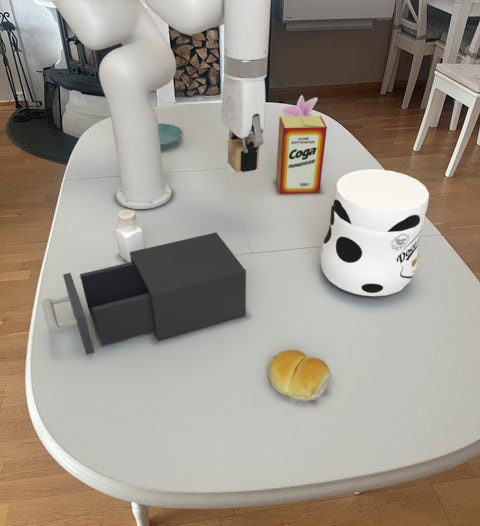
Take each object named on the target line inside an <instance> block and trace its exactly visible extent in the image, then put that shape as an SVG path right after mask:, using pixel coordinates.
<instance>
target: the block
mask: <svg viewBox="0 0 480 526" xmlns="http://www.w3.org/2000/svg"><path fill="white" fill-rule="evenodd" d="M252 140H253V138H250V139H247V142H248V144H249V142H251V141H252ZM241 151H243V143H242V139H241V138H240V139H234V140H230V139H229V140H227V164H228V165H229V166H230V167H231V168H232V169H233V170H234V171H235V172H236V173H241V172H242V171H241ZM259 162H260V149H259V150H258V151H257V168H256V170H257V169H259ZM242 173H243V172H242Z"/></svg>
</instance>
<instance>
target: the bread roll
mask: <svg viewBox="0 0 480 526" xmlns="http://www.w3.org/2000/svg"><path fill="white" fill-rule="evenodd" d="M268 377H269V382H270V384H271V386H272V387H273V389H274V390H275V391H277V392H278V393H279V394H281V395H283V396H286V397H287V396H288V397H289V398H291V399H292V400H296V401H301V402H309V401H314V400H316V399H319V397H321V395H322V394H323V393H324V392H325V390H326V389H327V387H328V385H329V384H330V382H331V378H332V374H331V373H330V369H329V367H328V364H326V363H325V362H324V361H323V360H322V359H320V358H318V357H317V358H316V357H307V355H306V354H305V353H304V352H302V351H301V350H298V349H288V350H284V351H281V352H280V353H278V354H277V355H275V356H274V357H273V358H272V360H271V362H270V363H269V367H268Z"/></svg>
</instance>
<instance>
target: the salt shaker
mask: <svg viewBox="0 0 480 526" xmlns="http://www.w3.org/2000/svg"><path fill="white" fill-rule="evenodd" d="M136 216H137V215H136V212H135V210H133V209H132V210H131V209H123V210H121V211H118V214H117V220H118V224H119V226H118V227H117V228H116V229H115V235H116V242H117V247H118V252H119V256H120V257H121V258H122V259H123V260H125V261H127V263H129V262H131V258H130V252H132V251H137V250H141V249H146V246H145V245H146V244H145V239H144V237H145V236H144V231H143V229H142V228H141V227H140V226H139V225H137V217H136Z"/></svg>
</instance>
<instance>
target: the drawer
mask: <svg viewBox="0 0 480 526" xmlns="http://www.w3.org/2000/svg"><path fill="white" fill-rule="evenodd" d="M62 276H63V277H62V278H63V281H64V284H65V287H66V291H67V296H64V297H59V298H55V299H51V298H49V297H48V298H43V299H42V301H41V305H42V309H43V312H44V318H45V321H46V325H47V329H48V332H50V333H51V334H55V333H58V332H59V330H60V329H62V328H65V327H69V326H74V325H76V326H77V329H78V332H79V336H80V339H81V341H82V342H81V343H82V345H83V348H84V351H85V354H86V355H90V354H94V353H95V350H94V346H93V342H92V337H91V334H90V330H89V326H88V322H87V319H86V314H85V312H84V308H83V306H82V302H81V299H80V296H79V294H78V291H77V287H76V284H75V282H74V279H73V276H72V273H71V272H68V273H64V274H62ZM79 277H80V280H81V281H80V282H81V285H82V290H83V293H84V297H85V302H86V306H87V309H88V310H87V311H88V312H89V315H90V318H91V321H92V324H93V327H94V329H95V333H96V335H97V337H98V341H99V343H100V346H101V347H103V346H106V345H110V344H113V343H117V342H121V341H124V340H127V339H132V338H134V337H135V338H136V337H138V336H143V335H145V334H146V335H147V334H149V333H152V332H153V331H155V324H154V317H153V310H152V302H151V296H150V294H149V292H148V290H147V288H146V286H145V284H144V282H143V280H142V278H141V276H140V274H139V272H138V270H137V268H136V266H135V264H134V262H126V263H125V262H124V263H121V264H117V265H112V266H109V267H105V268H100V269H96V270H91V271H88V272H83V273H79ZM67 302H70V303H69V304H70V306H71V310H72V313H73V316H74V318H72V319H68V320H64V321H61V322H58V319H57V315H56V312H55V308H54V306H55V305H58V304H63V303H67ZM153 333H154V332H153Z"/></svg>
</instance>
